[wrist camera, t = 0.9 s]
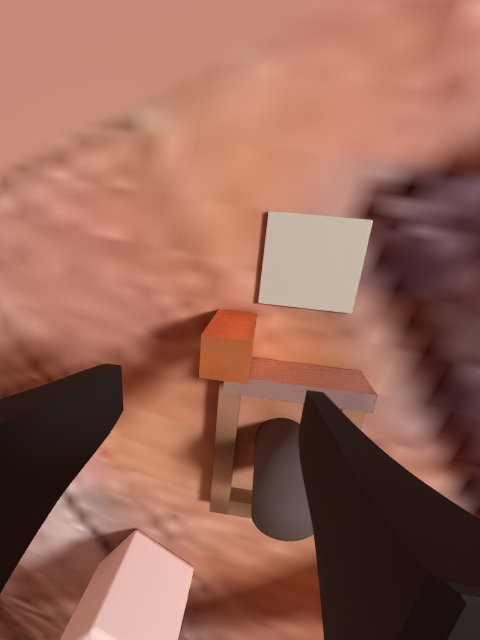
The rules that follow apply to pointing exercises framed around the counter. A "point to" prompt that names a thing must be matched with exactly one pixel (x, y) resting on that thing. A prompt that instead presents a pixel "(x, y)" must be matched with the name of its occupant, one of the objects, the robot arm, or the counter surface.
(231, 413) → the frame
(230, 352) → the latch bar
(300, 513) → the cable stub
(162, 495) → the counter surface
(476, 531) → the robot arm
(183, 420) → the counter surface
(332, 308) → the off-white flat square block
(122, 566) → the medicine bottle
